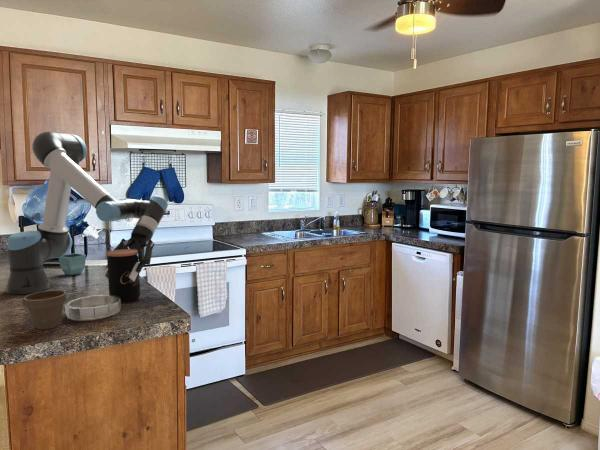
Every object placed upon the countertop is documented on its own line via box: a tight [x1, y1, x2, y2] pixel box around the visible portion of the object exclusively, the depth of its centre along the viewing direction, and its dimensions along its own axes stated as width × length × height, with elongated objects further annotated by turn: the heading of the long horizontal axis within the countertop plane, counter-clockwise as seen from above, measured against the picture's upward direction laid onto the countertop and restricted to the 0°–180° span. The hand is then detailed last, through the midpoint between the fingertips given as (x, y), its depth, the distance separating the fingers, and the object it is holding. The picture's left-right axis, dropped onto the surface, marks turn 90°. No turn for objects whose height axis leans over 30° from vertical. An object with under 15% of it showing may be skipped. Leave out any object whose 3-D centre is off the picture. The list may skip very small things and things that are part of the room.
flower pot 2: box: [58, 252, 87, 276], centre depth 217 cm, size 9×9×9 cm
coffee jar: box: [106, 248, 141, 304], centre depth 170 cm, size 11×11×18 cm
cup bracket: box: [64, 294, 122, 322], centre depth 155 cm, size 16×16×4 cm
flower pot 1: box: [23, 289, 68, 330], centre depth 141 cm, size 12×11×10 cm
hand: (118, 278), depth 167 cm, fingers closed on coffee jar, 11 cm apart
